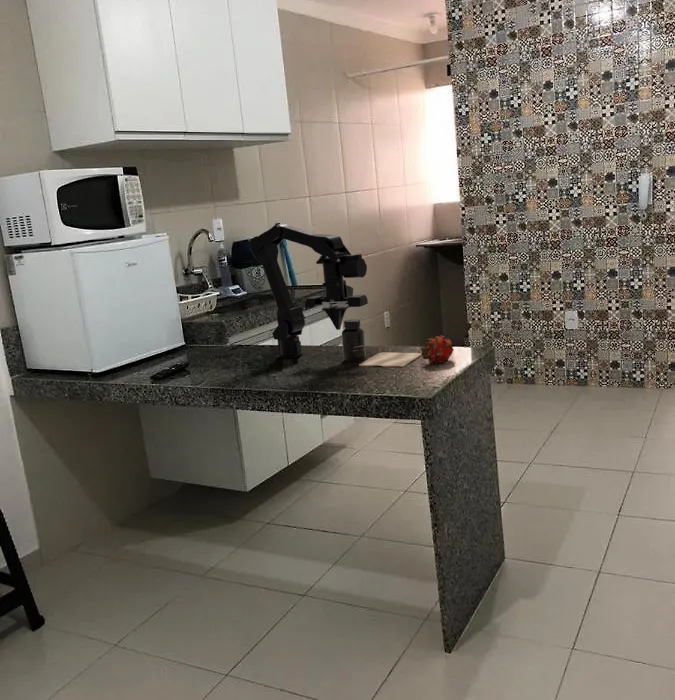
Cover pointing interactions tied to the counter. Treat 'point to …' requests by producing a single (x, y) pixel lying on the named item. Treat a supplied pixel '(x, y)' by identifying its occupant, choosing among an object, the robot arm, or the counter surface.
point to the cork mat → (391, 359)
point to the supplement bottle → (353, 341)
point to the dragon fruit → (437, 349)
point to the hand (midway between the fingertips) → (338, 329)
